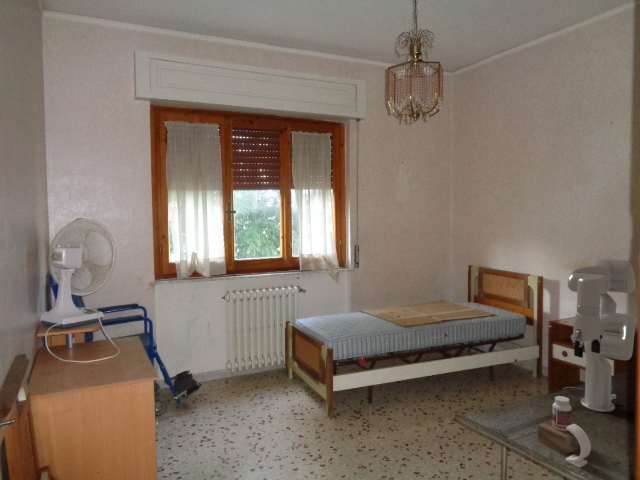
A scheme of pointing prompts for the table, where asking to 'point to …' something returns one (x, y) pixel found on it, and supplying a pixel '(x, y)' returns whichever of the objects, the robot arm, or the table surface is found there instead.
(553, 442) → the walnut block
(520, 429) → the table surface
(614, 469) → the table surface
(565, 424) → the pill bottle
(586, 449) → the headphone stand
